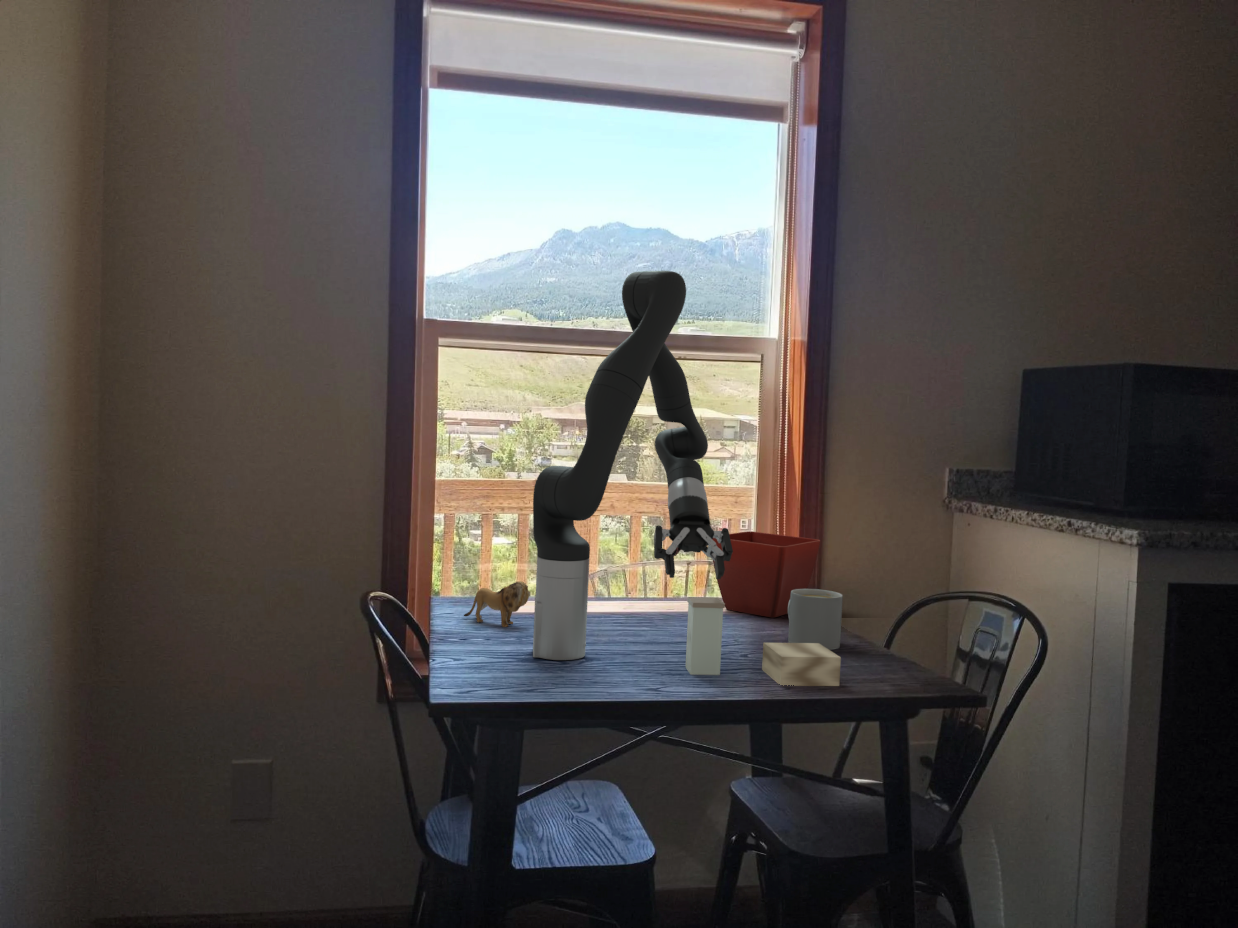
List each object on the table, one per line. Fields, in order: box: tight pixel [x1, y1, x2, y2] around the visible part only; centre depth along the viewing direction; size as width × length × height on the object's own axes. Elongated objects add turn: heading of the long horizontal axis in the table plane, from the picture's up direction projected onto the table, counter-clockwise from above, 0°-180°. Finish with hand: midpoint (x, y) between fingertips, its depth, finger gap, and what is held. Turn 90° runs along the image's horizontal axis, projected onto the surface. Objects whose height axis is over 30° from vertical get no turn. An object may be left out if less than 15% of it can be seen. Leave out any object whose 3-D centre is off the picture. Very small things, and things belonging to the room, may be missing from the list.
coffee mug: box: [787, 588, 844, 651], centre depth 186 cm, size 13×10×10 cm
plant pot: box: [712, 530, 821, 618], centre depth 217 cm, size 19×19×17 cm
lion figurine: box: [463, 580, 531, 628], centre depth 191 cm, size 15×5×9 cm, turn 68°
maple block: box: [761, 642, 842, 687], centre depth 159 cm, size 10×10×5 cm
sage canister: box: [685, 596, 726, 676], centre depth 160 cm, size 5×5×12 cm
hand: (696, 576), depth 170 cm, fingers open, 8 cm apart
